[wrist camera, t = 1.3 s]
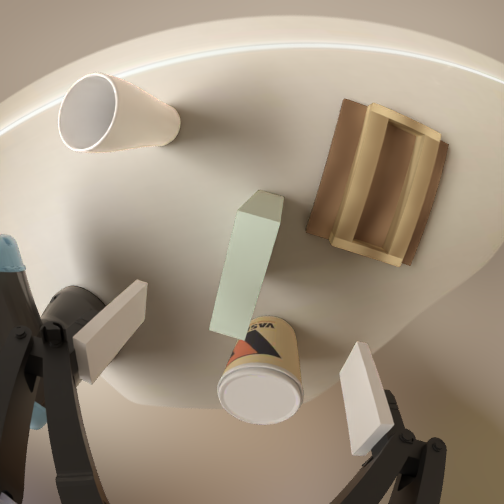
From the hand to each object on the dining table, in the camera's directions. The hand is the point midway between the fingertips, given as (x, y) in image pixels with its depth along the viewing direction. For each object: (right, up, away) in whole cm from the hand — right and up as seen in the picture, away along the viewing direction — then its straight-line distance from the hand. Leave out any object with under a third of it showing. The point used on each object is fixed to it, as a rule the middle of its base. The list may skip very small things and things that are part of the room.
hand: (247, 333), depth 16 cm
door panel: (+1, +7, +18) cm, 19 cm away
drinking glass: (-11, +20, +15) cm, 27 cm away
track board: (+15, +13, +14) cm, 24 cm away
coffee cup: (+3, -7, +22) cm, 23 cm away
